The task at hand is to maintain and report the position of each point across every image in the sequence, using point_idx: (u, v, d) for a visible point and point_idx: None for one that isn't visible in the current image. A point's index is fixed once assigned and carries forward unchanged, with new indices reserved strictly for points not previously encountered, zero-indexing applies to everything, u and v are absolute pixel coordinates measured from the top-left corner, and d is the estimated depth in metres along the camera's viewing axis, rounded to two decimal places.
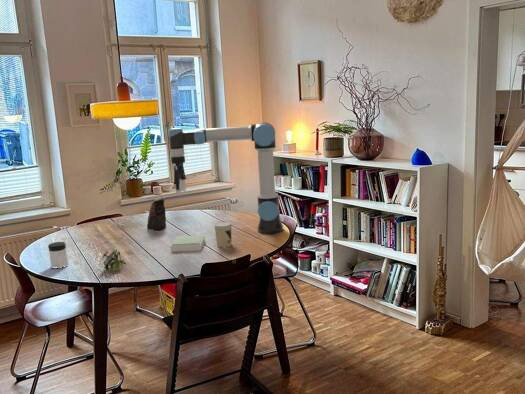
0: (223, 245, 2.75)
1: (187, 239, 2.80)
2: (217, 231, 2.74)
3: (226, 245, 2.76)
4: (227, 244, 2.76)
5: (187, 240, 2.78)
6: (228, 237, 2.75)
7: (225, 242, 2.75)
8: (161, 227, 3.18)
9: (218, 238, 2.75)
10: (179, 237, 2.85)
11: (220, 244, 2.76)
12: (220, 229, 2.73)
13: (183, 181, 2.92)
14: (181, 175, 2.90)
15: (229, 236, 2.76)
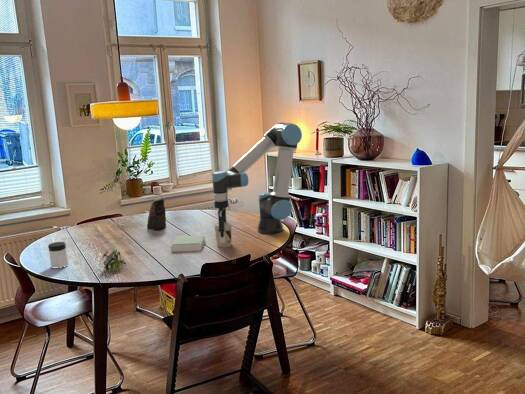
0: (223, 245, 2.75)
1: (187, 239, 2.80)
2: (217, 231, 2.74)
3: (226, 245, 2.76)
4: (227, 244, 2.76)
5: (187, 240, 2.78)
6: (228, 237, 2.75)
7: (225, 242, 2.75)
8: (161, 227, 3.18)
9: (218, 238, 2.75)
10: (179, 237, 2.85)
11: (220, 244, 2.76)
12: None
13: None
14: (223, 221, 2.80)
15: (229, 236, 2.76)
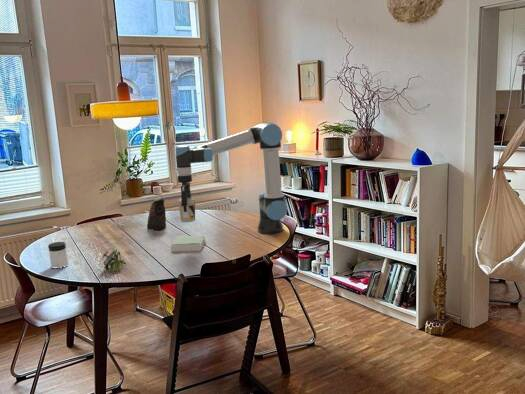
0: (186, 220, 2.73)
1: (187, 239, 2.80)
2: (180, 206, 2.72)
3: (189, 220, 2.73)
4: (190, 219, 2.73)
5: (187, 240, 2.78)
6: (191, 212, 2.73)
7: None
8: (161, 227, 3.18)
9: (181, 213, 2.73)
10: (179, 237, 2.85)
11: (183, 219, 2.73)
12: None
13: None
14: (187, 196, 2.78)
15: (192, 211, 2.73)
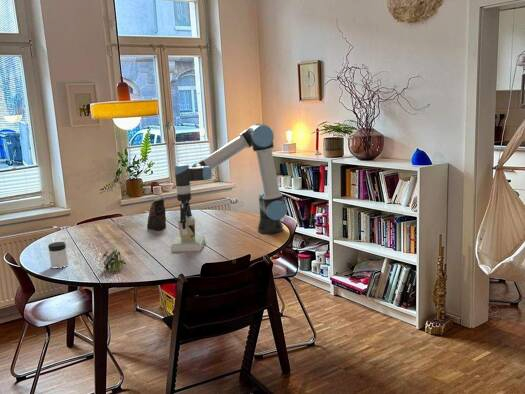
0: (186, 240, 2.75)
1: None
2: (180, 225, 2.74)
3: (189, 240, 2.76)
4: (190, 239, 2.76)
5: None
6: (191, 231, 2.75)
7: (188, 237, 2.75)
8: (161, 227, 3.18)
9: (181, 233, 2.75)
10: (179, 237, 2.85)
11: (183, 238, 2.76)
12: None
13: None
14: (187, 212, 2.81)
15: (192, 231, 2.76)
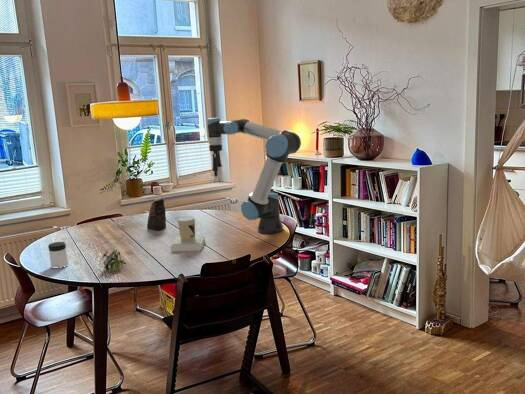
0: (186, 240, 2.75)
1: None
2: (180, 226, 2.74)
3: (189, 240, 2.76)
4: (190, 239, 2.76)
5: None
6: (191, 231, 2.75)
7: (188, 237, 2.75)
8: (161, 227, 3.18)
9: (181, 233, 2.75)
10: (179, 237, 2.85)
11: (183, 238, 2.76)
12: (183, 223, 2.73)
13: (219, 168, 3.08)
14: (218, 162, 3.06)
15: (192, 231, 2.76)
